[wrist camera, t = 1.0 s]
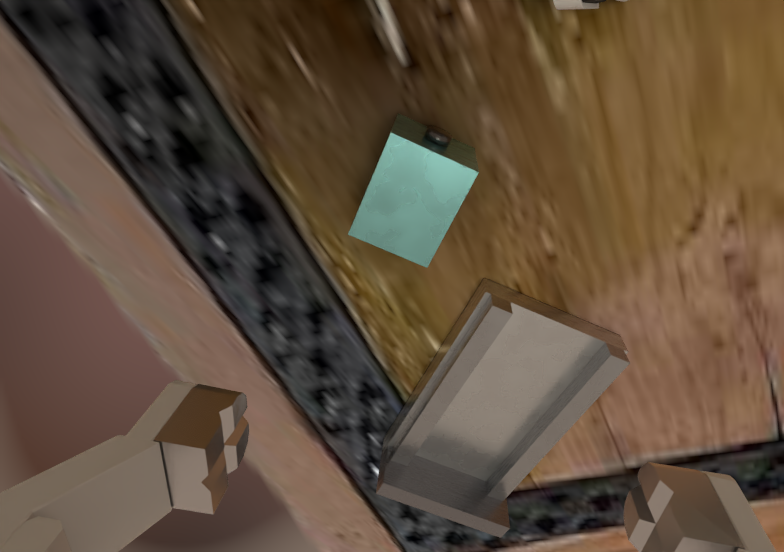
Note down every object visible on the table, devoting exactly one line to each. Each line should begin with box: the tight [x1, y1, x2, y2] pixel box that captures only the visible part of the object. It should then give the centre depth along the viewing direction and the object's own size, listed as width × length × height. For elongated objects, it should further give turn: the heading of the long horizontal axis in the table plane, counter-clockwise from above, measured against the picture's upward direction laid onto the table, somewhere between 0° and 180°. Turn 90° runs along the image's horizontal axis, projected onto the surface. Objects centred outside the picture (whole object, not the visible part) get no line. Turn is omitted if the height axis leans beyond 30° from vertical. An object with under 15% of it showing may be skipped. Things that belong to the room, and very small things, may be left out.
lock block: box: [348, 113, 479, 267], centre depth 32 cm, size 6×8×5 cm
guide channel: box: [376, 278, 630, 538], centre depth 40 cm, size 12×20×6 cm, turn 157°
